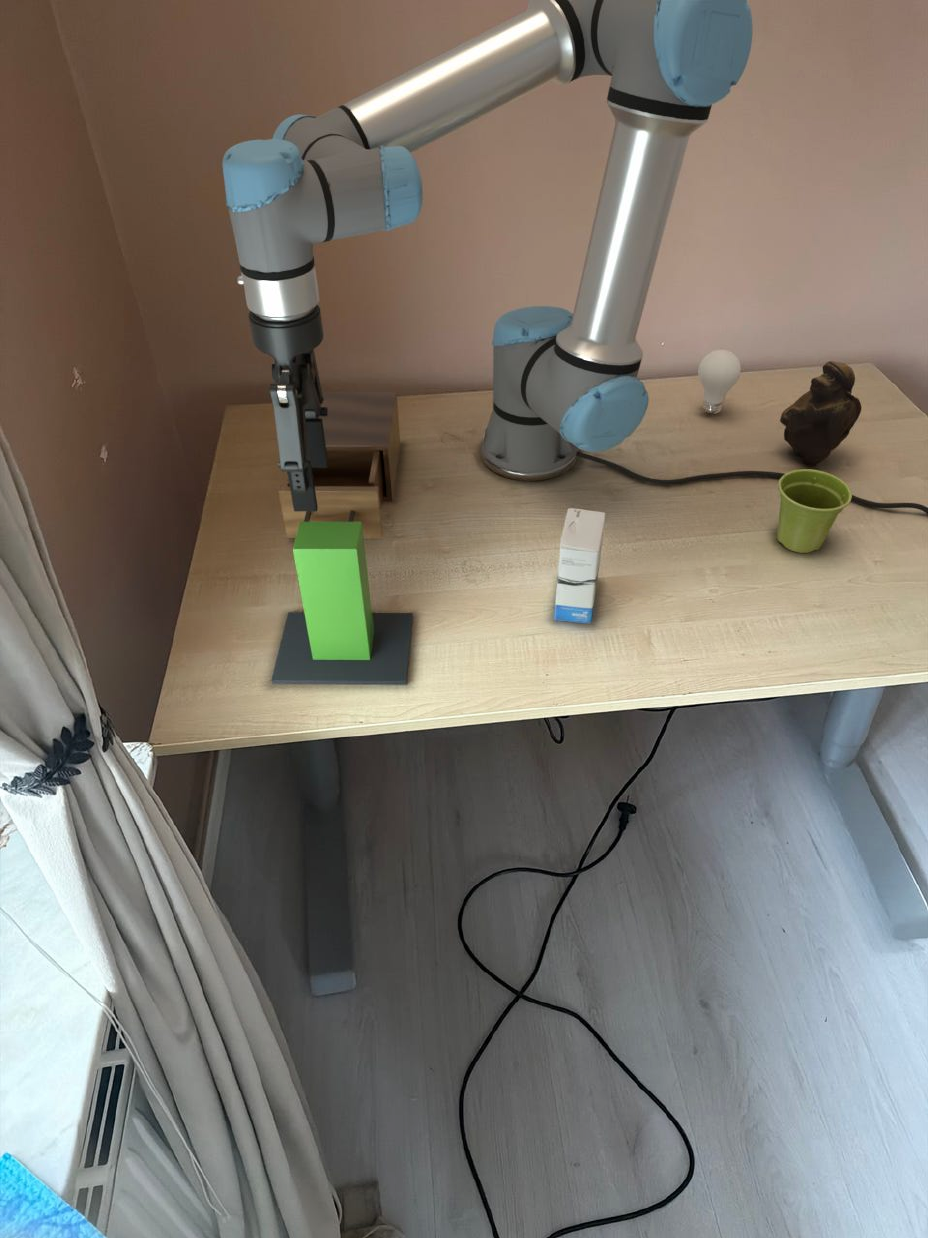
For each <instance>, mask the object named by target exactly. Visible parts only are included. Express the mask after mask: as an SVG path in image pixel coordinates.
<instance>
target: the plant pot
mask: <svg viewBox="0 0 928 1238" xmlns="http://www.w3.org/2000/svg"><path fill="white" fill-rule="evenodd" d="M777 486H778V487H777V488H778V491H779V497H780V505H779V512H778V513H779V514H778V521H777V530H776V539H777V541H778V542H780V543H781V544H782V545H783V546H784V548H785V549H787V550H789V551H792V552H796V553H801V554H808V553H812V552H813V551H818V550H819V549H820V548H821V547H822V545H823V544H824V542H825V540H826V538H827V536H828V534H829V532H830V531H831V529H832V526H833V525H834V523H835V521H836V519H837V518H838V516H839V514H840V513H841V512H842V511H843V510H844V508H846V507H847V506H848V505H849V504H850V503H851V501H852V500H851V498H852V495H853V494H852V489H851V488H850V487H849V485H848V484H847V483H846V482H845V481H843V480H842V479H841V478H840V477H838V476H836V475H833V474H832V473H828V472H826V471H823V470H818V469H809V468H804V469H803V468H801V469H795V470H790V471H789V472H786V473H784V475H783V476H782V477H781V478H779V480H778V485H777Z"/></svg>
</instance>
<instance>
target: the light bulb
mask: <svg viewBox="0 0 928 1238" xmlns="http://www.w3.org/2000/svg"><path fill="white" fill-rule="evenodd" d="M741 367H742V366H741V363H740V360H739V359H738V357H737V355H735V354H734V353H733V352H731V351H729V350H726V349H715V350H713V351H711V352H709V353H707V354H705V356H704V357H703V358H702V360H701V361H700V363H699V366H698V369H697V370H698V371H697V374H698V379H699V382H700V384H701V386H702V388H703V410H704V412H706V413H708V414H709V415H715V414H719V413H720V412H721V411H722V407H723V402H724V401H725V399H726V396H727V394H728V392H729V391H730V390H732V388H733V387H734V386H735V385H736V384H737V382H738V380H739V378H740V375H741V372H742V368H741Z"/></svg>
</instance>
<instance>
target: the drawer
mask: <svg viewBox="0 0 928 1238" xmlns="http://www.w3.org/2000/svg"><path fill="white" fill-rule="evenodd" d="M327 458H328V468H312V473H313V480H314V486H315V493H316V499H317V506H318V509H317V511H294V508H293V502H292V496H291V491H290V485H289V479H288V478H287V481H286V486H285V485H284V486H282V485H281V486H279V488H278V497H279V502H280V508H281V512H282V518H283V523H284V529H285V534H286V538H296V535H297V531H298V527H299V523H300V522H362V528H363V536H364V539H365V538H367V539H370V538H371V539H372V538H374V539H375V538H383V534H384V533H383V532H384V530H383V521H382V505H383V502H382V499H383V493H384V486H385V470H384V459H383V451H327Z"/></svg>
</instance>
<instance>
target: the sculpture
mask: <svg viewBox="0 0 928 1238" xmlns="http://www.w3.org/2000/svg"><path fill="white" fill-rule="evenodd" d="M855 381H856V376H855V372H854V370H853V368H852V367H851V366H850V365H848V364H846V363H844V362H839V361H835V360H829V361H827V362H825V363H824V364H823V365H822V374H821V375H819V376H816V377H813V378H811V380H810V386H809V390H808V391H807V392H805V393H804V394H802V395H801V396H800V397H799V398H798V399H797V400H796V401H795V402H793V403H792V404H790V405H789V406H788V407H787V408H785V409H784V410H783V411H782V413H781V416H780V419H779V422H780V423H781V425H783V426H784V427H785V428H784V431H783V439H784V441H785V442H786V443H787V444H788V445H789V446H790V447H791V448H792V453H793V455H794V456H797V457H802V458H804V459H805V461H806V465H807V466H808V467H814V466H817V465H818V464H819V463H822V461H824V460H826V459H827V458H828V457H829V456H830V455H831V454H832V451H833V450H835V449H837V448H838V447H839V446H840V444H841V443H842V442H844V440H845V439H846V438H847V437H848V436H849V434H850V432H851V430H852V428H853V427H854V425H855V424H856V422H857V421H858V420H859V418H860V414H861V413H862V404H861V401H860V399H859V398H858V397H856V396H855V395H853V394H852V393H853V391H852V390H853V388H854V385H855V383H856V382H855Z"/></svg>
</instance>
